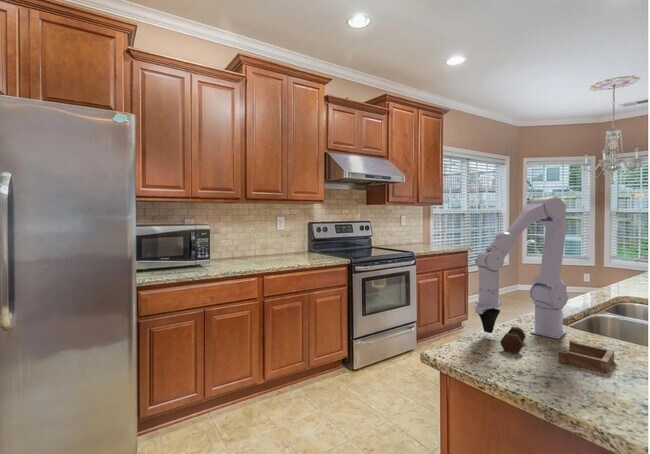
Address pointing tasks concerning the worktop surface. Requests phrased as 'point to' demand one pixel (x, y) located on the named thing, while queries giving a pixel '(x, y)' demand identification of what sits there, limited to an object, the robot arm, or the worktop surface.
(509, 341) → the bolt
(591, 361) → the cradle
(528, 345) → the worktop surface
